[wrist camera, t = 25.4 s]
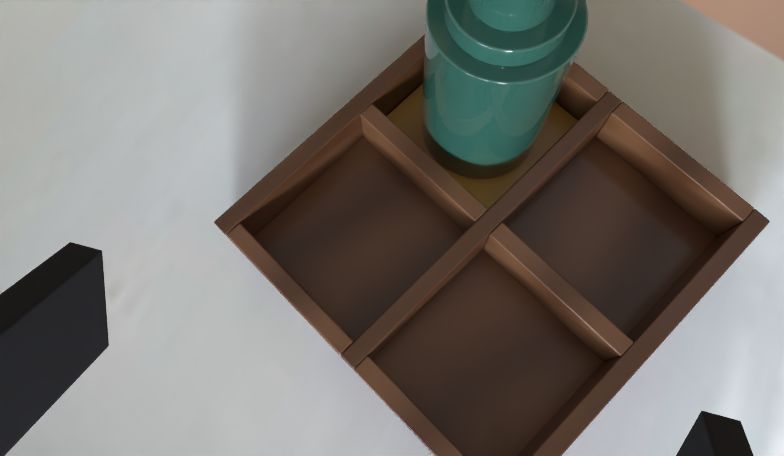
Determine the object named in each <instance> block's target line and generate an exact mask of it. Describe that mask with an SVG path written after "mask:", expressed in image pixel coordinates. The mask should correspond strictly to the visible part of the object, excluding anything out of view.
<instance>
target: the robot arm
mask: <svg viewBox="0 0 784 456" xmlns="http://www.w3.org/2000/svg"><path fill="white" fill-rule="evenodd" d="M108 346H109V343H108V329H107V315H106V301H105V286H104V272H103V258H102V251H101V250H97V249H94V248H90V247H86V246H82V245H79V244H75V243H71V242H70V243H69V244H67V245H66V246H65V247H63V248H62V249H61V250H59V251H58V252H57V253H55V254H54V255H53V256H51V257H50V258H49V259H47V260H46V261H45V262H43V263H42V264H41V265H39V266H38V267H36V268H35V269H34V270H32V271H31V272H30V273H28V274H27V275H26V276H24V277H23V278H22V279H20V280H19V281H18V282H16V283H15V284H14V285H12V286H11V287H10V288H8V289H7V290H6V291H4V292H3V293H2V294H0V456H5V455H6V453H7V452H8V451H9V450H10V449H11V448H12V447H13V446H14V445H15V444H16V443H17V442H18V441H19V440H20V439H21V438H22V437H23V436H24V434H25V433H26V432H27V431H28V430H29V429H30V428H31V427H32V426H33V425H34V424H35V423H36V422H37V421H38V420H39V419H40V418H41V417H42V416H43V414H44V413H45V412H46V411H47V410H48V409H49V408H50V407H51V406H52V405H53V404H54V403H55V402H56V401H57V400H58V399H59V398H60V397H61V395H62V394H63V393H64V392H65V391H66V390H67V389H68V388H69V387H70V386H71V385H72V384H73V383H74V382H75V381H76V380H77V379H78V378H79V376H80V375H81V374H82V373H83V372H84V371H85V370H86V369H87V368H88V367H89V366H90V365H91V364H92V363H93V362H94V361H95V360H96V359H97V357H98V356H99V355H100V354H101V353H102V352H103V351H104V350H105V349H106V348H107V347H108ZM676 456H753V453H752V450H751V448H750V445H749V443H748V440H747V437H746V435H745V432H744V429H743V427H742V424H741V421H738V420H734V419H731V418H727V417H723V416H719V415H716V414H712V413H708V412H704V411H701V413H700V415H699V416H698V418H697V420H696V422H695V423H694V425H693V427H692V429H691V430H690V432H689V434H688V436H687V437H686V439H685V441H684V443H683V444H682V446H681V448H680V450H679V451H678V453H677V455H676Z"/></svg>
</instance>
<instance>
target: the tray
mask: <svg viewBox="0 0 784 456" xmlns="http://www.w3.org/2000/svg"><path fill="white" fill-rule="evenodd" d="M424 44H425V35H424V36H423V37H421V38H420V39H419V40H418V41H417V42H416V43H415V44H414V45H412V46H411V47H410V48H409V49H408V50H407V51H406V52H405V53H403V54H402V55H401V56H400V57H399V58H398V59H397V60H396V61H394V62H393V63H392V64H391V65H390V66H389V67H388V68H387V69H385V70H384V71H383V72H382V73H381V74H380V75H379V76H378V77H376V78H375V79H374V80H373V81H372V82H371V83H370V84H369V85H367V86H366V87H365V88H364V89H363V90H362V91H361V92H360V93H359V94H357V95H356V96H355V97H354V98H353V99H352V100H351V101H350V102H348V103H347V104H346V105H345V106H344V107H343V108H342V109H341V110H339V111H338V112H337V113H336V114H335V115H334V116H333V117H332V118H330V119H329V120H328V121H327V122H326V123H325V124H324V125H323V126H321V127H320V128H319V129H318V130H317V131H316V132H315V133H314V134H312V135H311V136H310V137H309V138H308V139H307V140H306V141H305V142H303V143H302V144H301V145H300V146H299V147H298V148H297V149H296V150H294V151H293V152H292V153H291V154H290V155H289V156H288V157H287V158H285V159H284V160H283V161H282V162H281V163H280V164H279V165H278V166H276V167H275V168H274V169H273V170H272V171H271V172H270V173H269V174H267V175H266V176H265V177H264V178H263V179H262V180H261V181H260V182H258V183H257V184H256V185H255V186H254V187H253V188H252V189H251V190H249V191H248V192H247V193H246V194H245V195H244V196H243V197H242V198H240V199H239V200H238V201H237V202H236V203H235V204H234V205H233V206H231V207H230V208H229V209H228V210H227V211H226V212H225V213H224V214H222V215H221V216H220V217H219V218H218V219H217V220H216V221H215V222H214V223H215V224H216V225H217V226H218V227H219V228H220V229H221V231H222V232H223V233H224V234H225V235H226V236H227V237H228V238H229V239H230V240H231V241H232V242H233V243H234V244H235V245H236V246H237V247H238V248H239V249H240V251H241V252H242V253H243V254H244V255H245V256H246V257H247V258H248V259H249V260H250V261H251V262H252V263H253V264H254V265H255V266H256V267H257V268H258V270H259V271H260V272H261V273H262V274H263V275H264V276H265V277H266V278H267V279H268V280H269V281H270V282H271V283H272V284H273V285H274V286H275V287H276V288H277V290H278V291H279V292H280V293H281V294H282V295H283V296H284V297H285V298H286V299H287V300H288V301H289V302H290V303H291V304H292V305H293V306H294V307H295V309H296V310H297V311H298V312H299V313H300V314H301V315H302V316H303V317H304V318H305V319H306V320H307V321H308V322H309V323H310V324H311V325H312V326H313V327H314V329H315V330H316V331H317V332H318V333H319V334H320V335H321V336H322V337H323V338H324V339H325V340H326V341H327V342H328V343H329V344H330V345H331V346H332V348H333V349H334V350H335V351H336V352H337V353H338V354H339V355H340V356H341V357H342V358H343V359H344V360H345V361H346V362H347V363H348V364H349V365H350V366H351V368H353V369H354V371H355V372H356V373H357V374H358V375H359V376H360V377H361V378H362V379H363V380H364V381H365V382H366V383H367V384H368V385H369V387H370V388H371V389H372V390H373V391H374V392H375V393H376V394H377V395H378V396H379V397H380V398H381V399H382V400H383V401H384V402H385V403H386V404H387V406H388V407H389V408H390V409H391V410H392V411H393V412H394V413H395V414H396V415H397V416H398V417H399V418H400V419H401V420H402V421H403V422H404V423H405V425H406V426H407V427H408V428H409V429H410V430H411V431H412V432H413V433H414V434H415V435H416V436H417V437H418V438H419V439H420V440H421V441H422V442H423V443H424V445H425V446H426V447H427V448H428V449H429V450H430V451H431V452H432V453H433V454H434V455H435V456H561V455H562V454H563V453H564V452H565V451H566V450H567V449H568V448H569V446H570V445H571V444H572V443H573V442H574V441H575V440H576V439H577V438H578V436H579V435H580V434H581V433H582V432H583V431H584V430H585V429H586V427H587V426H588V425H589V424H590V423H591V422H592V421H593V420H594V418H595V417H596V416H597V415H598V414H599V413H600V412H601V411H602V409H603V408H604V407H605V406H606V405H607V404H608V403H609V402H610V401H611V399H612V398H613V397H614V396H615V395H616V394H617V393H618V392H619V390H620V389H621V388H622V387H623V386H624V385H625V384H626V383H627V381H628V380H629V379H630V378H631V377H632V376H633V375H634V374H635V372H636V371H637V370H638V369H639V368H640V367H641V366H642V365H643V364H644V362H645V361H646V360H647V359H648V358H649V357H650V356H651V355H652V353H653V352H654V351H655V350H656V349H657V348H658V347H659V346H660V344H661V343H662V342H663V341H664V340H665V339H666V338H667V337H668V335H669V334H670V333H671V332H672V331H673V330H674V329H675V328H676V327H677V325H678V324H679V323H680V322H681V321H682V320H683V319H684V318H685V316H686V315H687V314H688V313H689V312H690V311H691V310H692V309H693V307H694V306H695V305H696V304H697V303H698V302H699V301H700V300H701V298H702V297H703V296H704V295H705V294H706V293H707V292H708V291H709V290H710V288H711V287H712V286H713V285H714V284H715V283H716V282H717V281H718V279H719V278H720V277H721V276H722V275H723V274H724V273H725V272H726V270H727V269H728V268H729V267H730V266H731V265H732V264H733V263H734V261H735V260H736V259H737V258H738V257H739V256H740V255H741V254H742V253H743V251H744V250H745V249H746V248H747V247H748V246H749V245H750V244H751V242H752V241H753V240H754V239H755V238H756V237H757V236H758V235H759V233H760V232H761V231H762V230H763V229H764V228H765V227H766V226H767V224H768V223H769V222H770V221H769V220H768V219H767V218H766V217H764V216H763V215H762V214H761V213H759V212H758V211H757V210H755V209H754V208H753V207H752V206H751V205H750V204H748V203H747V202H746V201H745V200H743V199H742V198H741V197H740V196H739V195H737V194H736V193H735V192H734V191H732V190H731V189H730V188H729V187H727V186H726V185H725V184H724V183H723V182H721V181H720V180H719V179H718V178H716V177H715V176H714V175H713V174H711V173H710V172H709V171H708V170H707V169H705V168H704V167H703V166H702V165H700V164H699V163H698V162H697V161H695V160H694V159H693V158H692V157H690V156H689V155H688V154H687V153H686V152H684V151H683V150H682V149H681V148H679V147H678V146H677V145H676V144H674V143H673V142H672V141H671V140H670V139H668V138H667V137H666V136H665V135H663V134H662V133H661V132H660V131H658V130H657V129H656V128H655V127H653V126H652V125H651V124H650V123H649V122H647V121H646V120H645V119H644V118H642V117H641V116H640V115H639V114H637V113H636V112H635V111H634V110H633V109H631V108H630V107H629V106H628V105H626V104H625V103H624V102H622V101H621V100H620V99H618V98H617V97H616V96H615V95H614V94H612V93H611V92H608V89H607V88H606V87H604V86H603V85H602V84H601V83H599V82H598V81H597V80H596V79H594V78H593V77H592V76H591V75H589V74H588V73H587V72H586V71H585V70H583V69H582V68H581V67H580V66H578V65H577V64H576V63H575V62H573V64H572V66H571V68H570V70H569V72H568V75H567V77H566V79H565V81H564V83H563V85H562V88H561V90H560V92H559V94H558V96H557V98H556V100H555V103H554V105H553V107H552V109H551V111H550V113H549V116H548V118H547V120H546V122H545V124H544V126H543V128H542V131H541V133H540V135H539V137H538V139H537V141H536V143H535V146H534V148H533V150H532V152H531V153H530V155H529V156H528V158H527V159H526V160H525V161H524V162H523V163H522V164H521V165H519V166H518V167H517V168H516V169H514V170H512V171H511V172H509V173H506V174H504V175H501V176H498V177H494V178H488V179H475V178H469V177H464V176H461V175H458V174H456V173H454V172H451V171H450V170H448V169H446V168H445V167H444V166H442V165H441V164H440V163H439V162H438V161H437V160H436V159H435V158H434V157H433V156H432V154H431V153H430V152H429V150H428V148H427V146H426V144H425V141H424V139H423V134H422V127H421V119H422V94H423V69H424ZM621 102H622V103H621Z"/></svg>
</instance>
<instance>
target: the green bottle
mask: <svg viewBox="0 0 784 456" xmlns="http://www.w3.org/2000/svg"><path fill="white" fill-rule="evenodd" d="M587 24H588V11H587V4H586V0H427V4H426V19H425V44H424V69H423V94H422V119H421V127H422V134H423V139H424V141H425V144H426V146H427V148H428V150H429V152H430V153H431V154H432V156H433V157H434V158H435V159H436V160H437V161H438V162H439V163H440V164H441V165H442V166H444V167H445V168H446V169H448V170H450V171H451V172H454V173H456V174H458V175H461V176H464V177H469V178H475V179H488V178H494V177H498V176H501V175H504V174H506V173H509V172H511V171H512V170H514V169H516V168H517V167H518V166H519V165H521V164H522V163H523V162H524V161H525V160H526V159H527V158H528V156H529V155H530V153H531V152H532V150H533V148H534V146H535V143H536V141H537V139H538V137H539V135H540V133H541V131H542V128H543V126H544V124H545V122H546V120H547V118H548V116H549V113H550V111H551V109H552V107H553V105H554V103H555V100H556V98H557V96H558V94H559V92H560V90H561V88H562V85H563V83H564V81H565V79H566V77H567V75H568V72H569V70H570V68H571V66H572V64H573V62H574V60H575V57H576V55H577V53H578V51H579V49H580V47H581V45H582V42H583V40H584V37H585V34H586V31H587Z"/></svg>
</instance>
